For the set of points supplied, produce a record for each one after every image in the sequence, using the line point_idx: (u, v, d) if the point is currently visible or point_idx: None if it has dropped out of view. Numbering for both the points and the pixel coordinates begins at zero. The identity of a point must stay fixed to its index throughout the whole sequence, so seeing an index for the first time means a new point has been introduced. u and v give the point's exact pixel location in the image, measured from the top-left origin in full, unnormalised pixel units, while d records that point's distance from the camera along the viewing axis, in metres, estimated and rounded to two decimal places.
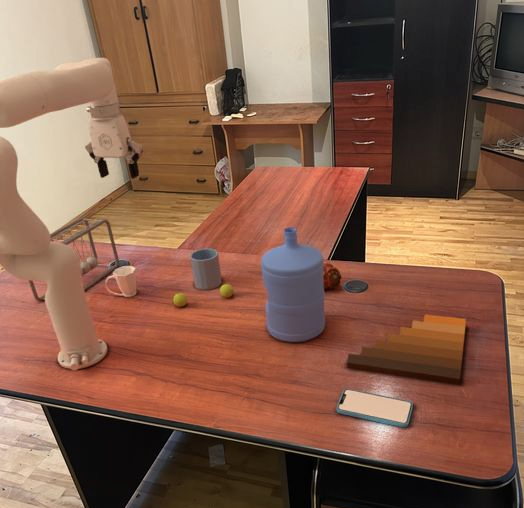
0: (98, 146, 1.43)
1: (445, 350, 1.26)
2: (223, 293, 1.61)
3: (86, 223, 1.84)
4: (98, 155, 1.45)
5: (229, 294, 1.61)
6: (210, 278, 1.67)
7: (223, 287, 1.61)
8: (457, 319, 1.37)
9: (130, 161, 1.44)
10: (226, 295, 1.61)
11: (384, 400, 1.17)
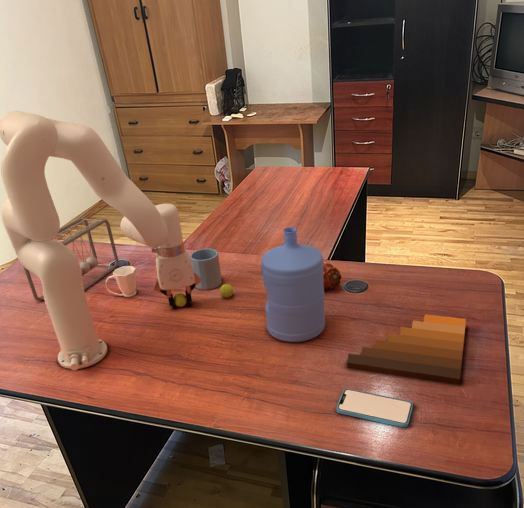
0: (167, 280, 1.53)
1: (445, 350, 1.26)
2: (223, 293, 1.61)
3: (86, 223, 1.84)
4: (166, 288, 1.54)
5: (229, 294, 1.61)
6: (210, 278, 1.67)
7: (223, 287, 1.61)
8: (457, 319, 1.37)
9: (188, 291, 1.58)
10: (226, 295, 1.61)
11: (384, 400, 1.17)
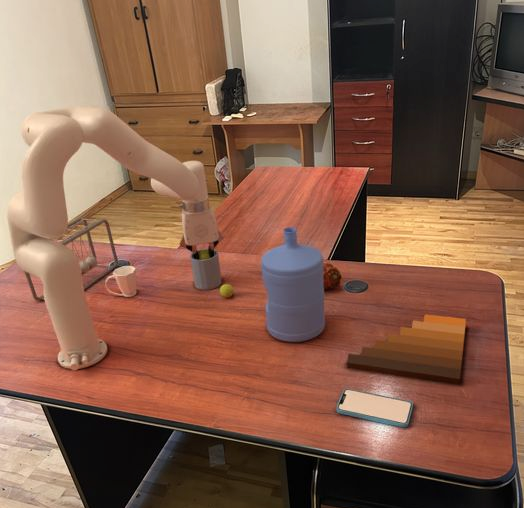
0: (193, 236, 1.60)
1: (445, 350, 1.26)
2: (223, 293, 1.61)
3: (85, 223, 1.84)
4: (192, 244, 1.61)
5: (229, 294, 1.61)
6: (210, 278, 1.67)
7: (223, 287, 1.61)
8: (457, 319, 1.37)
9: (211, 247, 1.65)
10: (226, 295, 1.61)
11: (384, 400, 1.17)
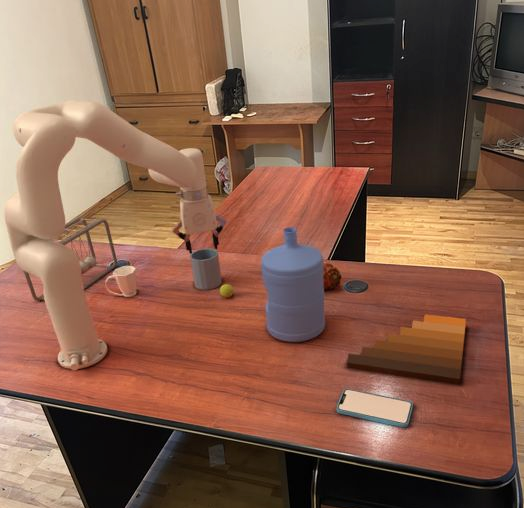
0: (191, 225, 1.58)
1: (445, 350, 1.26)
2: (223, 293, 1.61)
3: (84, 223, 1.84)
4: (190, 233, 1.59)
5: (229, 294, 1.61)
6: (210, 278, 1.67)
7: (223, 287, 1.61)
8: (457, 319, 1.37)
9: (216, 234, 1.63)
10: (226, 295, 1.61)
11: (384, 400, 1.17)
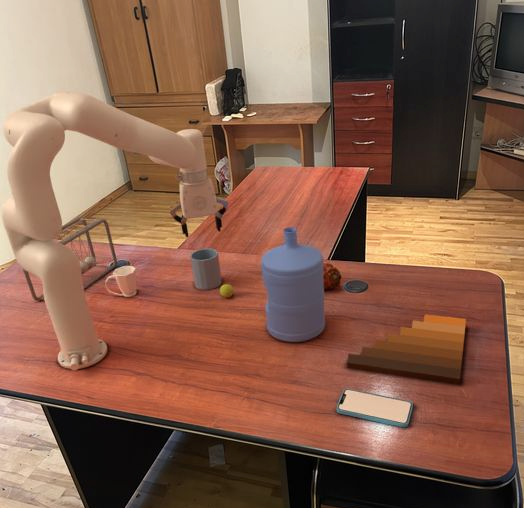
0: (191, 208, 1.54)
1: (445, 350, 1.26)
2: (223, 293, 1.61)
3: (84, 223, 1.84)
4: (190, 216, 1.55)
5: (229, 294, 1.61)
6: (210, 278, 1.67)
7: (223, 287, 1.61)
8: (457, 319, 1.37)
9: (219, 216, 1.59)
10: (226, 295, 1.61)
11: (384, 400, 1.17)
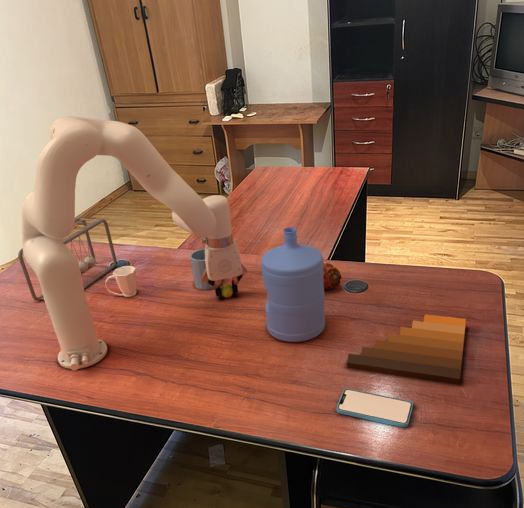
0: (216, 271, 1.56)
1: (445, 350, 1.26)
2: (223, 293, 1.61)
3: (84, 223, 1.84)
4: (215, 279, 1.57)
5: (229, 294, 1.61)
6: None
7: (223, 287, 1.61)
8: (457, 319, 1.37)
9: (235, 282, 1.61)
10: (226, 295, 1.61)
11: (384, 400, 1.17)
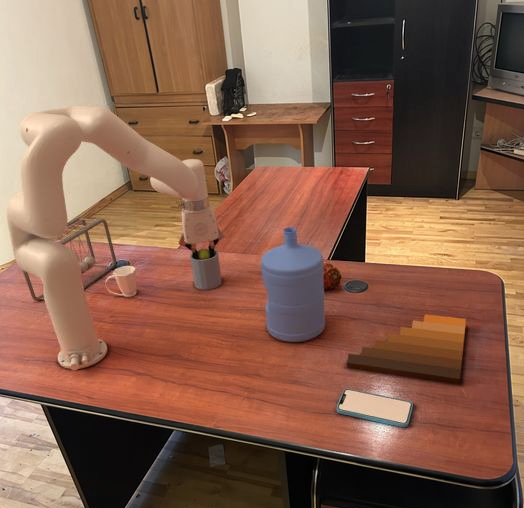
0: (192, 234, 1.60)
1: (445, 350, 1.26)
2: (200, 257, 1.65)
3: (83, 223, 1.84)
4: (191, 242, 1.61)
5: (206, 258, 1.66)
6: (210, 278, 1.67)
7: (200, 251, 1.65)
8: (457, 319, 1.37)
9: (212, 246, 1.65)
10: (203, 259, 1.66)
11: (384, 400, 1.17)
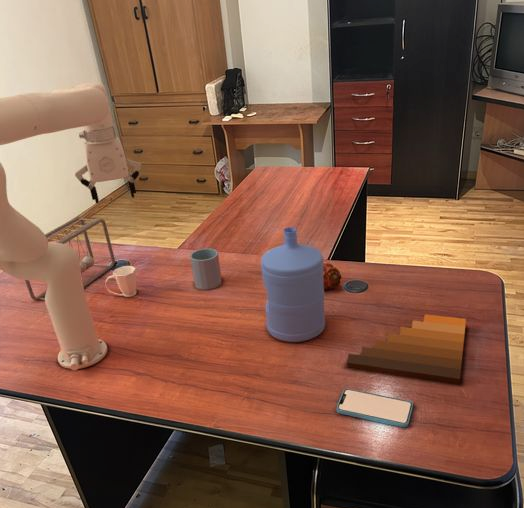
0: (97, 170, 1.42)
1: (445, 350, 1.26)
2: None
3: (82, 223, 1.85)
4: (97, 180, 1.43)
5: None
6: (210, 278, 1.67)
7: None
8: (457, 319, 1.37)
9: (131, 180, 1.46)
10: None
11: (384, 400, 1.17)
